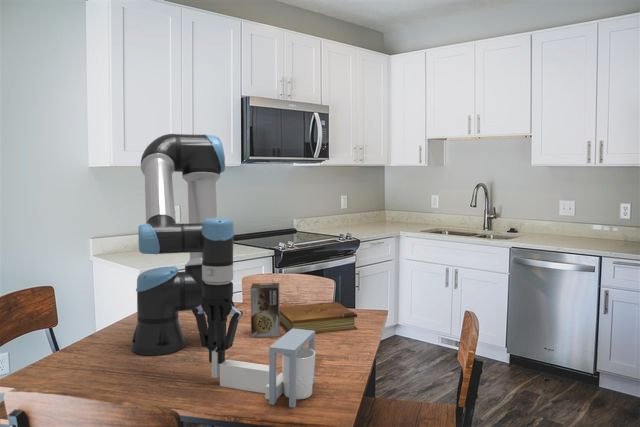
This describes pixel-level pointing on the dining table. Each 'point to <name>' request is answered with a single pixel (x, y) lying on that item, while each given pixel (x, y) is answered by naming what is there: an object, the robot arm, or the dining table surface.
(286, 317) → the diary
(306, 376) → the white cup
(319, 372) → the dining table surface
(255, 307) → the food box
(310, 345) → the bridge
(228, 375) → the white l-shaped block
